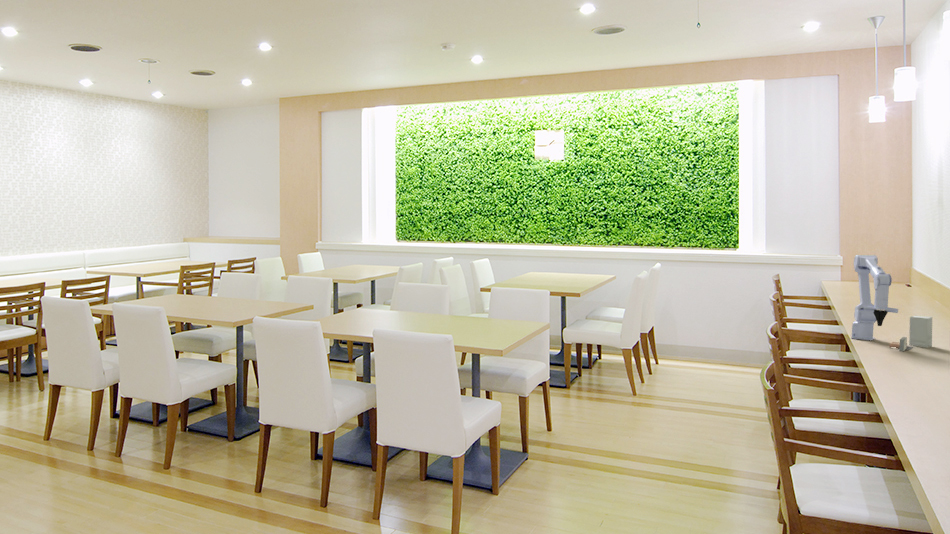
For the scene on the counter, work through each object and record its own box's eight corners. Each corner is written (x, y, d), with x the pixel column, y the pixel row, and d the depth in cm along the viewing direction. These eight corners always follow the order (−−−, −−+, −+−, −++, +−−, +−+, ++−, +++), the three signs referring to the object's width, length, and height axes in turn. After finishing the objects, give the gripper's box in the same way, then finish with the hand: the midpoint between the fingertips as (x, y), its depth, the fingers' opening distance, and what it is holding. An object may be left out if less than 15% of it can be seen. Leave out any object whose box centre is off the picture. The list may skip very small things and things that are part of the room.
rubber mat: (889, 348, 327) (889, 347, 327) (894, 345, 334) (894, 344, 334) (908, 350, 322) (908, 350, 322) (913, 347, 329) (913, 347, 329)
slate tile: (899, 351, 320) (900, 339, 319) (902, 348, 324) (903, 336, 323) (903, 352, 319) (904, 339, 318) (906, 349, 323) (907, 337, 322)
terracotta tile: (890, 343, 329) (904, 345, 324) (893, 341, 333) (907, 343, 329) (889, 346, 329) (903, 348, 325) (892, 345, 333) (906, 346, 329)
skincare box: (932, 346, 331) (934, 317, 329) (926, 348, 328) (928, 318, 326) (913, 343, 338) (915, 314, 336) (907, 345, 335) (909, 315, 333)
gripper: (862, 297, 331) (861, 324, 333) (896, 300, 321) (894, 328, 322) (866, 296, 336) (864, 323, 338) (899, 299, 326) (898, 326, 328)
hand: (879, 325), depth 330 cm, fingers closed
